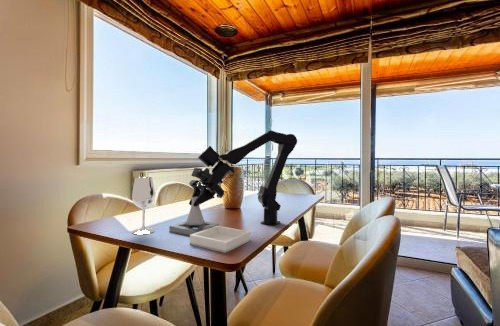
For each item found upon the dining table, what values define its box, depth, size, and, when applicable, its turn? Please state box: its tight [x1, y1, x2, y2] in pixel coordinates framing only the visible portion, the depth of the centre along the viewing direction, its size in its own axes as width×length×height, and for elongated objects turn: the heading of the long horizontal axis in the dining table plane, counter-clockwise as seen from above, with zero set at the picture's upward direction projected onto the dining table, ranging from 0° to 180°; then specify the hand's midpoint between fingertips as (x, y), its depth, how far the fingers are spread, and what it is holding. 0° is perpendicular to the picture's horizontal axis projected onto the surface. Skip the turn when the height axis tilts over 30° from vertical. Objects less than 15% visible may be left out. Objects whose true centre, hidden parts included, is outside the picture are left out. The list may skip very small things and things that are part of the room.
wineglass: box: [131, 176, 156, 235], centre depth 96 cm, size 8×8×20 cm
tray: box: [189, 225, 252, 254], centre depth 85 cm, size 14×14×3 cm
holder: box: [168, 221, 220, 237], centre depth 99 cm, size 13×13×2 cm
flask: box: [185, 196, 206, 225], centre depth 99 cm, size 7×7×10 cm
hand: (191, 205), depth 98 cm, fingers closed on flask, 3 cm apart
